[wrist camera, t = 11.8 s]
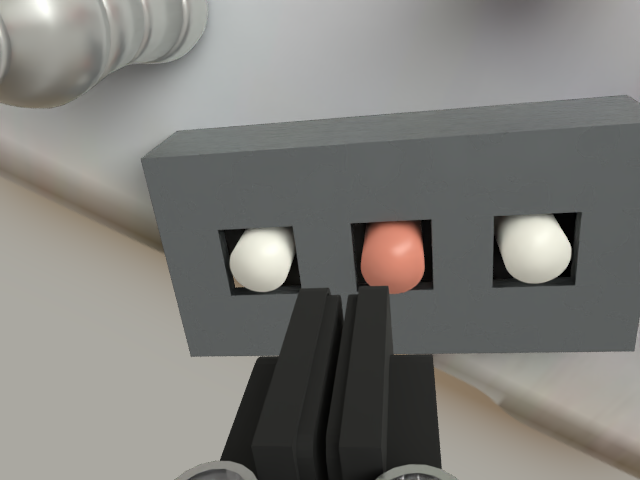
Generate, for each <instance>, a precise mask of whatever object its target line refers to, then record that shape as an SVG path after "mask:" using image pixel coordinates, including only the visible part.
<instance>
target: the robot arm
mask: <svg viewBox="0 0 640 480" xmlns="http://www.w3.org/2000/svg"><path fill="white" fill-rule="evenodd" d="M175 480H458V479H457V478H456V477H454V476H453V475H451V474H449V473H447V472H446V471H444V470H442V468H441V454H440V442H439V429H438V417H437V405H436V391H435V378H434V366H433V355H432V354H431V355H394V353H393V339H392V325H391V310H390V296H389V287H388V286H361V287H359V292H358V294H349V295H348V299H347V306H346V312H345V318H343V309H342V300H341V296H340V295H331V292H330V289H329V288H301V289H300V290H299V292H298V296H297V299H296V302H295V305H294V309H293V312H292V315H291V318H290V322H289V325H288V328H287V331H286V335H285V338H284V341H283V344H282V348H281V351H280V354H279V356H277V357H276V356H273V357H272V356H271V357H259V358H258V359H257V361H256V363H255V365H254V368H253V371H252V373H251V376H250V379H249V381H248V384H247V387H246V390H245V392H244V395H243V398H242V401H241V404H240V407H239V409H238V412H237V415H236V418H235V420H234V423H233V426H232V428H231V431H230V434H229V437H228V439H227V442H226V445H225V448H224V450H223V453H222V456H221V459H220V461H213V462H208V463H204V464H200V465H198V466H196V467H194V468H192V469H189V470H187V471H186V472H184V473H183V474H181V475H180V476H179V477H178V478H176V479H175Z"/></svg>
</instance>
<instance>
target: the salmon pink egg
mask: <svg viewBox="0 0 640 480" xmlns="http://www.w3.org/2000/svg"><path fill="white" fill-rule="evenodd" d="M424 268H425V264H424V251H423V238H422V225H421V220H408V221H387V222H367V223H366V229H365V237H364V244H363V252H362V259H361V272H362V275H363V277H364V279H365V280H366V282H367V283H368V284H369V285H370V286H388V287H389V294H399V293H403V292H406V291H408V290H410V289H412V288H413V287H415V286H416V285H417V284H418V283H419V281H420V280H421V278H422V276H423V274H424Z"/></svg>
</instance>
